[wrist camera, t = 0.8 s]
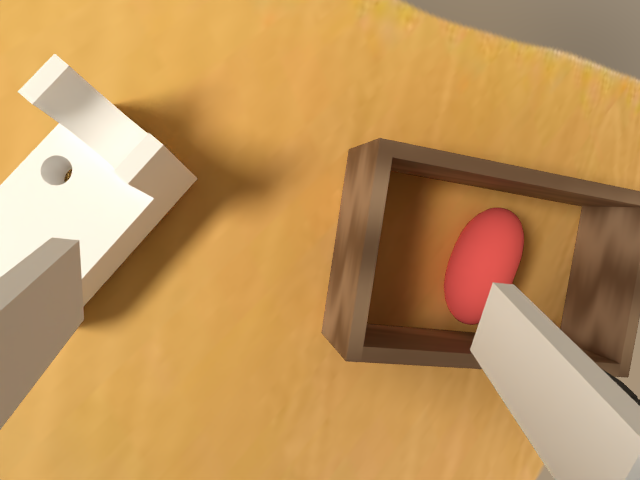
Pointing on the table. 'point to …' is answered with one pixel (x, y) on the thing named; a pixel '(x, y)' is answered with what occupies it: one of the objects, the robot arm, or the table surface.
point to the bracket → (86, 180)
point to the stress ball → (482, 262)
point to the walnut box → (595, 198)
